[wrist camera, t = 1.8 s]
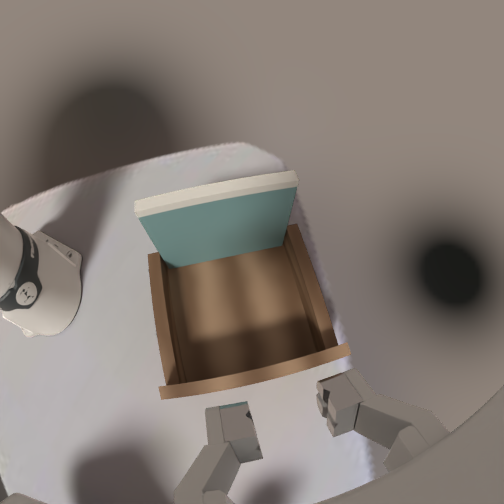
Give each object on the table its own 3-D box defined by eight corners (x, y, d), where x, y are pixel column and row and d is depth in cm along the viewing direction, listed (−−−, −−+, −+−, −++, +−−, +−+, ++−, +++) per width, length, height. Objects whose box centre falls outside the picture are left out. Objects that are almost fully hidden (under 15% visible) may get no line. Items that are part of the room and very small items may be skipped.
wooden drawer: (182, 394, 32) (161, 399, 23) (162, 274, 40) (140, 243, 31) (324, 360, 35) (351, 354, 26) (289, 247, 42) (301, 211, 33)
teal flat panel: (169, 269, 37) (134, 212, 24) (168, 260, 37) (134, 200, 24) (282, 246, 39) (299, 180, 26) (279, 237, 39) (294, 170, 27)
